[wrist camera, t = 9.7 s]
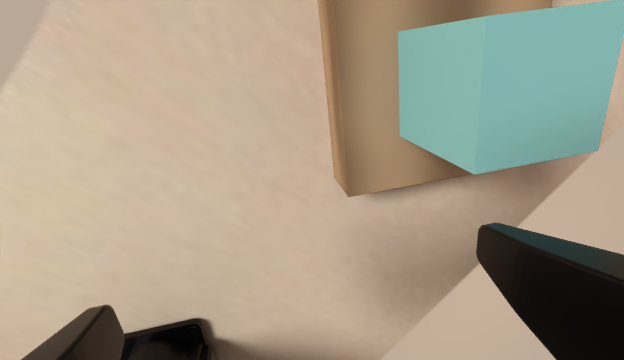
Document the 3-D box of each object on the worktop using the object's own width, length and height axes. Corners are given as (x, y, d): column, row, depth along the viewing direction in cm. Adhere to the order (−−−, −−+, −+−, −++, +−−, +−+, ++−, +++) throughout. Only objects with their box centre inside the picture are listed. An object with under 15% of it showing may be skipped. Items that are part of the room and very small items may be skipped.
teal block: (399, 136, 17) (474, 174, 11) (398, 31, 15) (486, 15, 9) (486, 121, 17) (597, 151, 12) (495, 19, 16) (631, -3, 10)
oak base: (334, 178, 20) (348, 197, 17) (315, -25, 16) (330, -42, 13) (492, 150, 22) (528, 163, 19) (512, -43, 18) (561, -61, 15)
